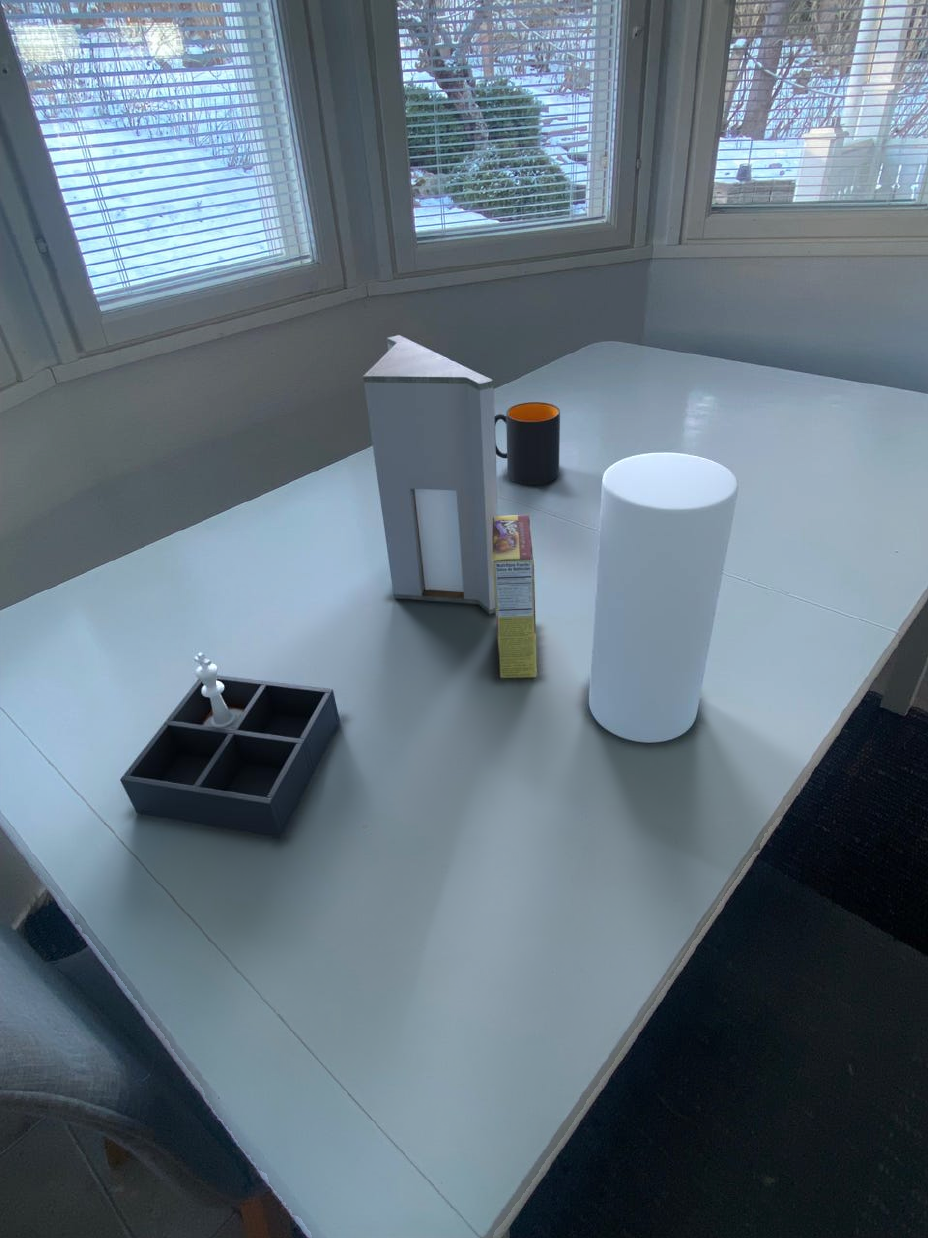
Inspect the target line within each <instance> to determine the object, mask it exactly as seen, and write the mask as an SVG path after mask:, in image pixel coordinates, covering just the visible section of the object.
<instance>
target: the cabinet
mask: <svg viewBox="0 0 928 1238" xmlns="http://www.w3.org/2000/svg"><path fill="white" fill-rule="evenodd" d="M386 340H387V341H386V342H387V352H386V353H385V354H384V355H382V357H381V358H380V359H379V360H378V361H376V363H375V364H374V365H373V366H371V368H370V369H368V370H367V371H366V372H365V373H364V374H363V375H362V379H363V387H364V394H365V401H366V408H367V414H368V415H367V416H368V422H369V429H370V436H371V444H372V451H373V458H374V465H375V472H376V479H377V487H378V494H379V500H380V507H381V509H380V510H381V514H382V521H383V527H384V528H383V529H384V535H385V543H386V551H387V558H388V565H389V573H390V579H391V587H392V593H393V598H394V599H401V600H402V599H404V600H417V601H430V602H443V603H456V604H457V603H458V604H471V605H479V606H480V607H481V608H482V609H483V610H484V611H486V613H488V614H489V615H492V614H496V608H495V594H494V577H493V563H492V558H493V554H492V545H493V541H492V530H493V517H495V516H499V507H498V478H497V477H498V476H497V455H496V445H497V443H496V444H495V436H496V425H495V416H496V415H495V390H494V389H495V388H494V387H495V385H494V379H491V378H489V377H487V376H485V375H483V374H481V373H479V372H478V371H477V372H476V371H475V370H473V369H471V368H468V367H467V366H465V365H463V364H460V363H458V362H457V361H454V360H452V359H450V358H448V357H445V356H444V355H441V354H440V353H437V352H435V351H433V350H431V349H430V348H427V347H425V346H423V345H421V344H418V343H417V342H414V341H412V340H410V339H408V338H406V337H404V336H402V335H400V334H397V335H394V336H389V337H386Z"/></svg>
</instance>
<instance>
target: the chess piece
mask: <svg viewBox="0 0 928 1238" xmlns="http://www.w3.org/2000/svg"><path fill="white" fill-rule="evenodd" d="M193 658H194V662H195V663H198V664H199V666H198V667H197V668H196V669H195V671H194V672H195V676H196V678H197V680H198V679H199V680H200V681H201V682H202V683H203V684H204V686H203V687H202V695H203V696H205V697H210V700H211V705H212V711H213V715H212V716H211V717H209V718H208V719H207V720H206V721H205V723H204V724H203V725H204V726H211V727H218V728H225V729H232V728H233V726H234V725H235V723H236V722H237V720H238V719H239V717H240V716H241V714H242V713H243V711H241V710H238V709H228V708H227V706H226V704H225V702H224V700H223V699H222V696H221V693H222V692H223V690H224V685H223V684H222V683H221V682H220V681H217V675H218V667H217V665H216V664H214V663H212V661H211V660H210V659H208V658H206V656H205V654H204V653H203V652H202V651H199V652H198V653H197V654H196V656H194V657H193Z"/></svg>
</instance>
